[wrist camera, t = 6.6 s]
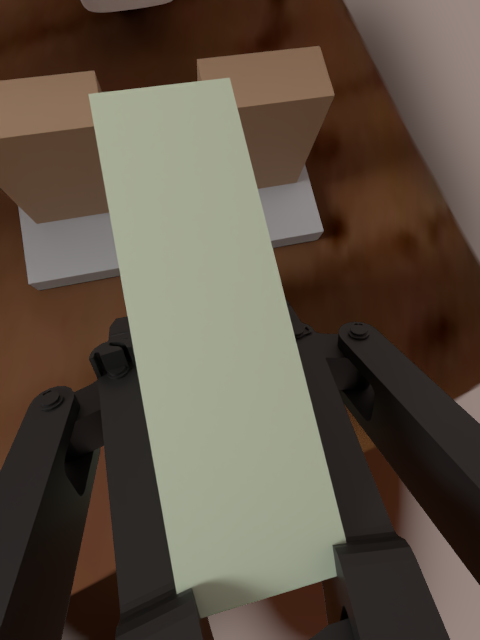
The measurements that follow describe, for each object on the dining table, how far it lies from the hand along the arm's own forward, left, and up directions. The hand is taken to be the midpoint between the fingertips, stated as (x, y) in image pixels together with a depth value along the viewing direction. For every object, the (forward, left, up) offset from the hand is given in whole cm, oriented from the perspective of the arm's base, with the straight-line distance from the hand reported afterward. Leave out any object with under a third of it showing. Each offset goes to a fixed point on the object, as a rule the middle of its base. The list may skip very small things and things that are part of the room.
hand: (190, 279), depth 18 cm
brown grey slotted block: (-6, +6, -8) cm, 12 cm away
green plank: (+3, -3, -8) cm, 9 cm away
